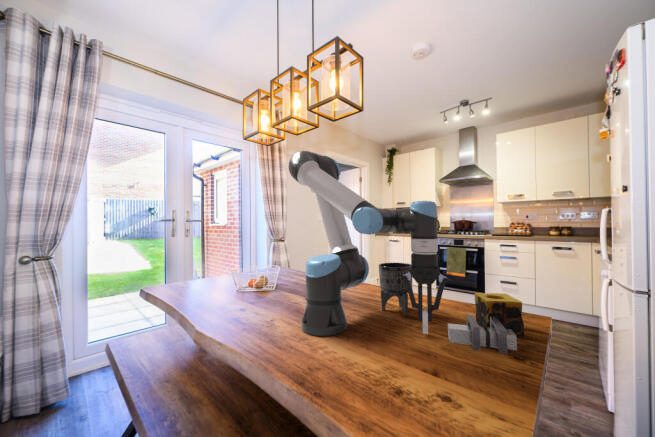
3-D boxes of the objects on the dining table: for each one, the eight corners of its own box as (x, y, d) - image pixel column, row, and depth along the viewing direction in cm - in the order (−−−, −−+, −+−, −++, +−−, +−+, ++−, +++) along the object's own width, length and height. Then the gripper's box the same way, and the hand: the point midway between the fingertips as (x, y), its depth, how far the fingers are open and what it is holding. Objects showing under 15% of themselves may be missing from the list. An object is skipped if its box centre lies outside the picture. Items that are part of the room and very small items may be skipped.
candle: (525, 336, 76) (523, 302, 76) (487, 334, 78) (485, 300, 78) (508, 323, 86) (507, 293, 86) (475, 322, 88) (474, 292, 88)
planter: (387, 303, 110) (386, 261, 111) (418, 308, 103) (417, 263, 103) (374, 312, 100) (373, 265, 100) (407, 318, 92) (406, 268, 93)
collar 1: (473, 350, 68) (472, 326, 68) (467, 334, 78) (466, 314, 78) (480, 350, 68) (479, 327, 68) (473, 335, 77) (472, 315, 77)
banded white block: (449, 342, 73) (449, 328, 73) (448, 336, 77) (447, 323, 77) (517, 351, 67) (516, 335, 68) (512, 344, 71) (511, 329, 71)
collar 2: (500, 353, 66) (499, 329, 66) (490, 337, 75) (489, 316, 76) (507, 354, 65) (506, 330, 66) (497, 338, 75) (496, 317, 75)
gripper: (400, 253, 76) (401, 334, 76) (449, 255, 72) (450, 340, 72) (402, 250, 83) (403, 324, 83) (446, 252, 79) (448, 330, 79)
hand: (425, 332), depth 77 cm, fingers closed
